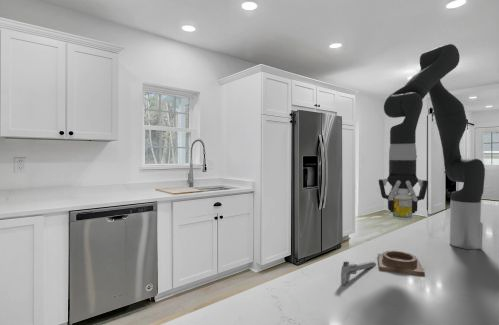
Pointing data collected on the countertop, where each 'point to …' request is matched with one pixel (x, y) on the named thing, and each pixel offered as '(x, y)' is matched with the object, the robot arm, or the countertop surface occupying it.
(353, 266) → the caliper
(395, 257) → the bottle holder
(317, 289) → the countertop surface
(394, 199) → the supplement bottle
